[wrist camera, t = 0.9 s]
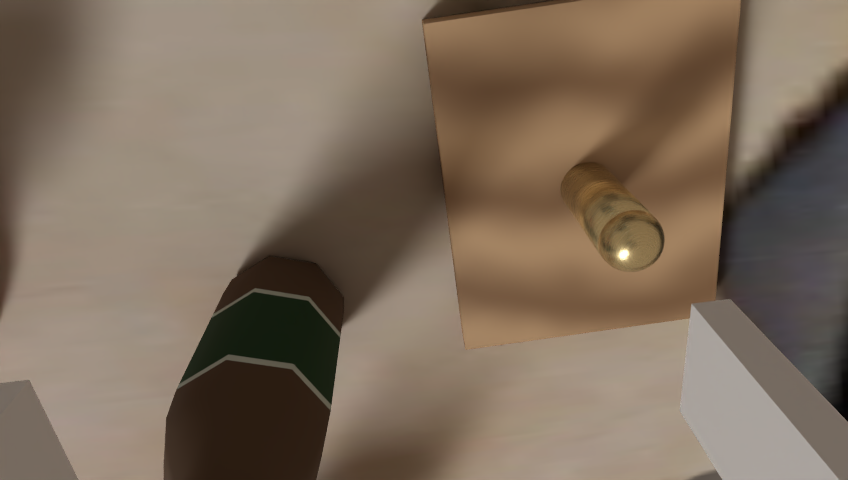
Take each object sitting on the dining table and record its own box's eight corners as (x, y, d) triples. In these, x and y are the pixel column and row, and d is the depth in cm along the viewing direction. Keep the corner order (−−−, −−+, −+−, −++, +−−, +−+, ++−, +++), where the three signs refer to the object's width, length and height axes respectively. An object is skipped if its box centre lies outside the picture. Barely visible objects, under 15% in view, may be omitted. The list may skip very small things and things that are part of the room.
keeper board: (421, 19, 32) (423, 24, 30) (723, -25, 32) (742, -24, 30) (462, 332, 41) (465, 349, 39) (699, 298, 41) (713, 314, 39)
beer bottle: (331, 240, 37) (250, 637, 16) (359, 343, 41) (323, 785, 19) (208, 262, 38) (-37, 683, 16) (246, 363, 41) (85, 822, 19)
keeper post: (559, 166, 34) (608, 228, 26) (612, 158, 34) (677, 218, 26) (561, 214, 35) (608, 288, 28) (612, 207, 35) (674, 278, 28)
